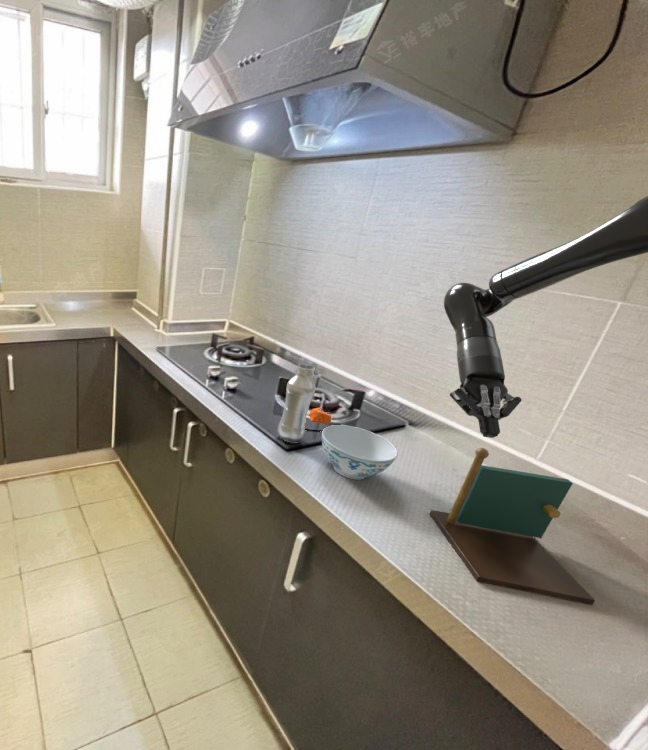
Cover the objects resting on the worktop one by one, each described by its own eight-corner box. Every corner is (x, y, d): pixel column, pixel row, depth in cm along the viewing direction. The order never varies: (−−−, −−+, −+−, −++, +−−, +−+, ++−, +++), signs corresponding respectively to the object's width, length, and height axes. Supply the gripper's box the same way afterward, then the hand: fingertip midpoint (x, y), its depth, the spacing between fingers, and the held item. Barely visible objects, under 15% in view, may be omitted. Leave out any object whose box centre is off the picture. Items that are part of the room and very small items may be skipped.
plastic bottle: (302, 449, 96) (322, 373, 88) (274, 442, 98) (291, 368, 90) (302, 437, 101) (321, 365, 94) (275, 431, 103) (291, 360, 96)
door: (536, 533, 71) (567, 479, 67) (547, 544, 69) (581, 489, 64) (455, 518, 73) (480, 464, 69) (463, 529, 71) (490, 474, 66)
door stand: (520, 530, 74) (562, 453, 68) (592, 605, 59) (654, 515, 53) (429, 513, 76) (461, 438, 70) (476, 581, 62) (523, 493, 56)
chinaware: (309, 447, 97) (316, 420, 94) (373, 459, 94) (383, 431, 91) (321, 484, 83) (330, 453, 80) (397, 498, 80) (409, 466, 78)
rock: (329, 413, 117) (333, 400, 115) (348, 434, 105) (353, 420, 104) (290, 410, 116) (293, 397, 115) (305, 430, 105) (308, 416, 103)
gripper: (457, 349, 84) (467, 425, 77) (526, 358, 82) (542, 437, 75) (436, 365, 91) (444, 436, 84) (499, 373, 89) (513, 446, 82)
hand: (490, 436), depth 80 cm, fingers closed
